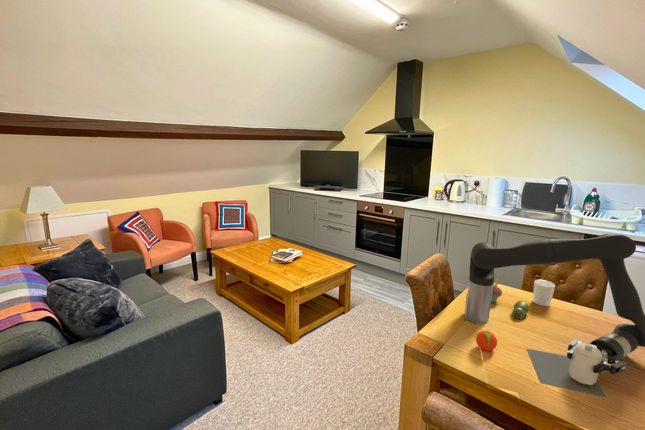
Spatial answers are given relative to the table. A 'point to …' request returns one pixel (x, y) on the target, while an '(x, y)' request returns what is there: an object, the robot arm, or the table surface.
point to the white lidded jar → (584, 363)
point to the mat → (559, 372)
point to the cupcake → (496, 292)
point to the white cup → (543, 292)
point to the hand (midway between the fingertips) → (581, 362)
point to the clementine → (486, 340)
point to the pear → (520, 309)
